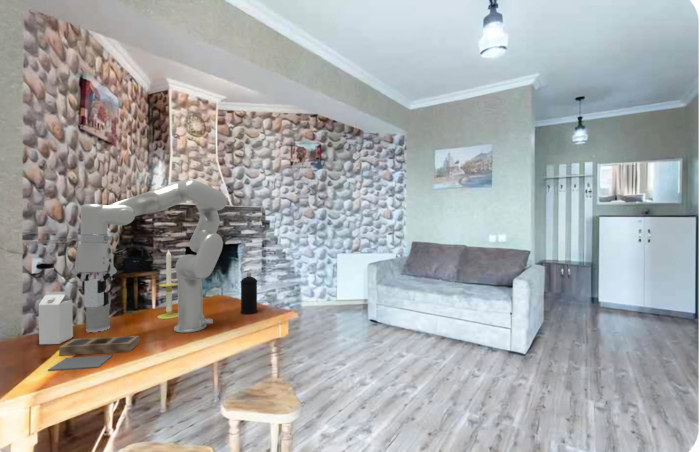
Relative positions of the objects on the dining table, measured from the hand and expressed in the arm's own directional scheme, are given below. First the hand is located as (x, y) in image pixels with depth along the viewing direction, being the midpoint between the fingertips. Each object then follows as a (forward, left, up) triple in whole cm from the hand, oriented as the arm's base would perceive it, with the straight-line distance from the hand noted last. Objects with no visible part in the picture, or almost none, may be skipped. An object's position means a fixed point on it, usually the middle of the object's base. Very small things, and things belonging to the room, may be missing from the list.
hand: (94, 291), depth 121 cm
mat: (0, +8, -22) cm, 23 cm away
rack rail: (0, -4, -22) cm, 22 cm away
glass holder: (+13, -32, -22) cm, 40 cm away
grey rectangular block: (0, 0, -5) cm, 5 cm away
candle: (-10, -45, -22) cm, 51 cm away
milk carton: (+21, -16, -22) cm, 34 cm away
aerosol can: (-47, -46, -22) cm, 69 cm away
